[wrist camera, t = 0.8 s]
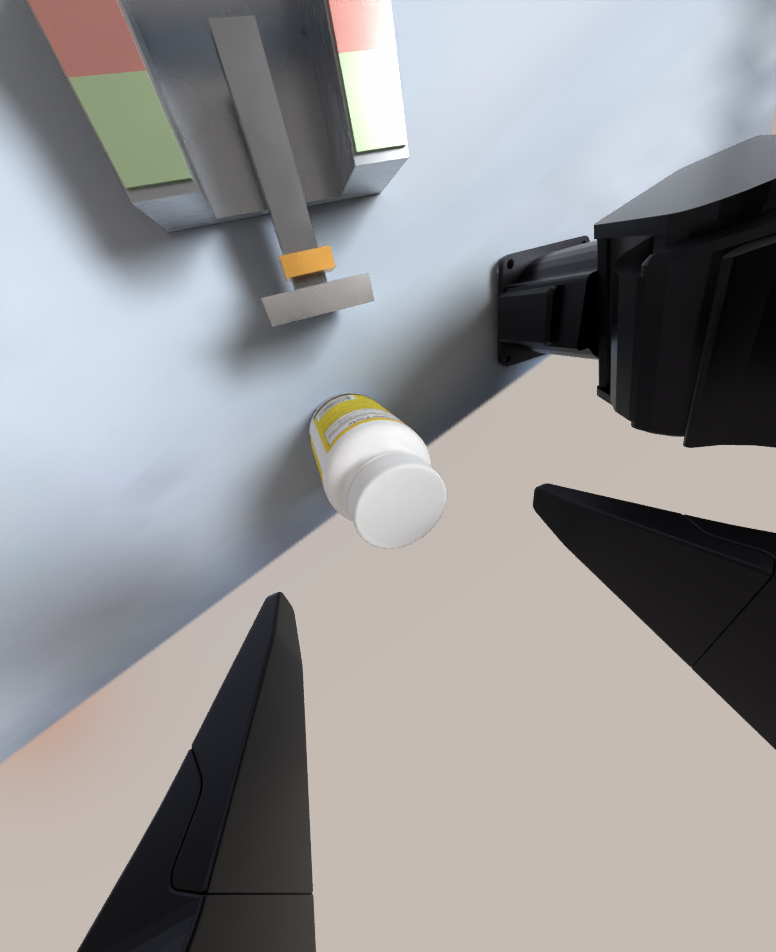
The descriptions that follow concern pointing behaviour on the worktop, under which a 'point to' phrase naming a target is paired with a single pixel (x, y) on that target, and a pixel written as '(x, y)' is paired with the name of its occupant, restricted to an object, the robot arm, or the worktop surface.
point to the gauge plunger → (279, 180)
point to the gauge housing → (210, 106)
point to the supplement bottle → (376, 471)
